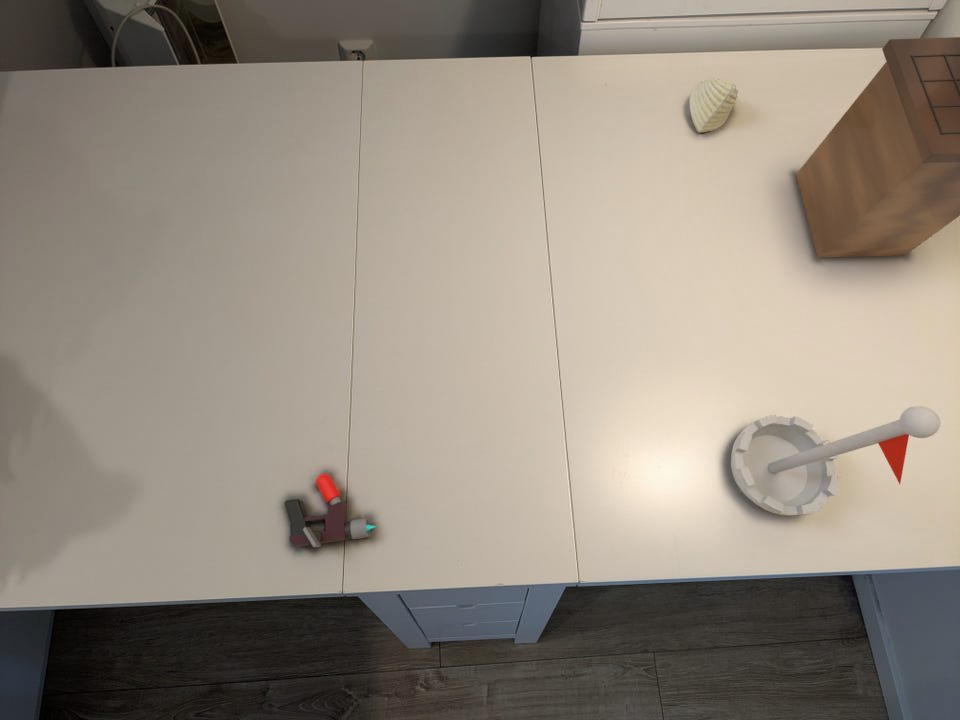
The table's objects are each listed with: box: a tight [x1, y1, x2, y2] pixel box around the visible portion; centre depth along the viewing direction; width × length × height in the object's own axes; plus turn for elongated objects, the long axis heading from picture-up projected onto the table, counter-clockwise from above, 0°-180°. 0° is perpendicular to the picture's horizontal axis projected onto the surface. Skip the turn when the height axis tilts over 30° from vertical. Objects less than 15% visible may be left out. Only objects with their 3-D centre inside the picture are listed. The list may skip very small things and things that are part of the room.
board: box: [795, 36, 960, 259], centre depth 79 cm, size 16×18×26 cm
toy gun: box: [284, 473, 377, 549], centre depth 74 cm, size 10×12×5 cm
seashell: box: [688, 78, 739, 133], centre depth 96 cm, size 8×8×8 cm
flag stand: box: [730, 405, 941, 516], centre depth 63 cm, size 13×13×30 cm
